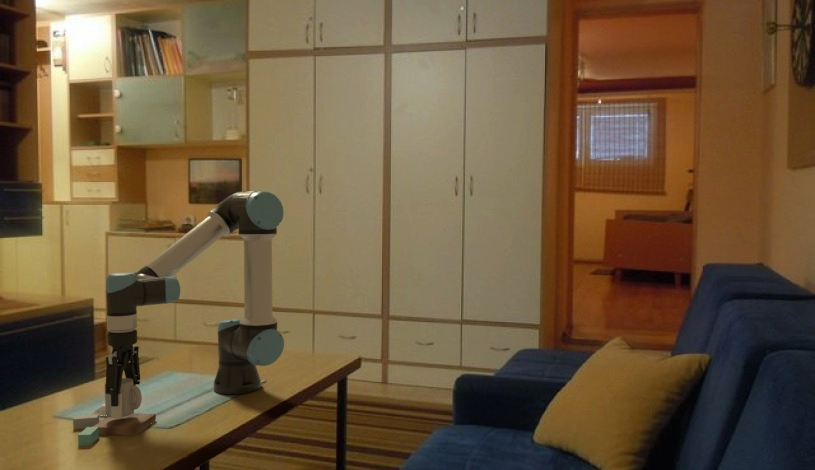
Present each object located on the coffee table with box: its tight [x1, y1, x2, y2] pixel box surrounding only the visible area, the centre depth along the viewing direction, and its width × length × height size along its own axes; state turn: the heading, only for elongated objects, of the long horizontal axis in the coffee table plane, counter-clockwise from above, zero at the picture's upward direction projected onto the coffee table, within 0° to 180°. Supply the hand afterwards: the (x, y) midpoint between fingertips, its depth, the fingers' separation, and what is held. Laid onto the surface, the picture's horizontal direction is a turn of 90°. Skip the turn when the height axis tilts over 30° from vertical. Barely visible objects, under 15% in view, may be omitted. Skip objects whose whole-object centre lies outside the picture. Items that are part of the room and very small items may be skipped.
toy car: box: [90, 403, 107, 417], centre depth 201 cm, size 6×12×4 cm, turn 92°
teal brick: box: [77, 427, 100, 447], centre depth 177 cm, size 6×3×3 cm, turn 5°
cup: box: [104, 377, 143, 417], centre depth 188 cm, size 7×10×9 cm
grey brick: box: [72, 414, 100, 430], centre depth 189 cm, size 6×3×3 cm, turn 104°
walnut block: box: [93, 412, 157, 437], centre depth 188 cm, size 12×12×2 cm
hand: (124, 412), depth 188 cm, fingers closed on cup, 7 cm apart
